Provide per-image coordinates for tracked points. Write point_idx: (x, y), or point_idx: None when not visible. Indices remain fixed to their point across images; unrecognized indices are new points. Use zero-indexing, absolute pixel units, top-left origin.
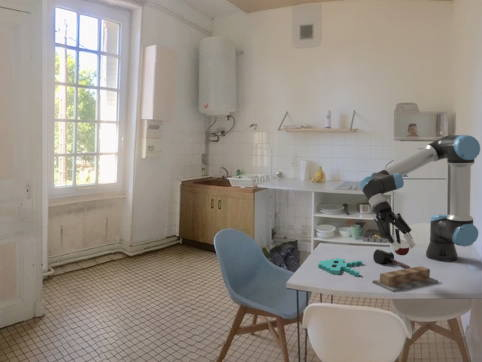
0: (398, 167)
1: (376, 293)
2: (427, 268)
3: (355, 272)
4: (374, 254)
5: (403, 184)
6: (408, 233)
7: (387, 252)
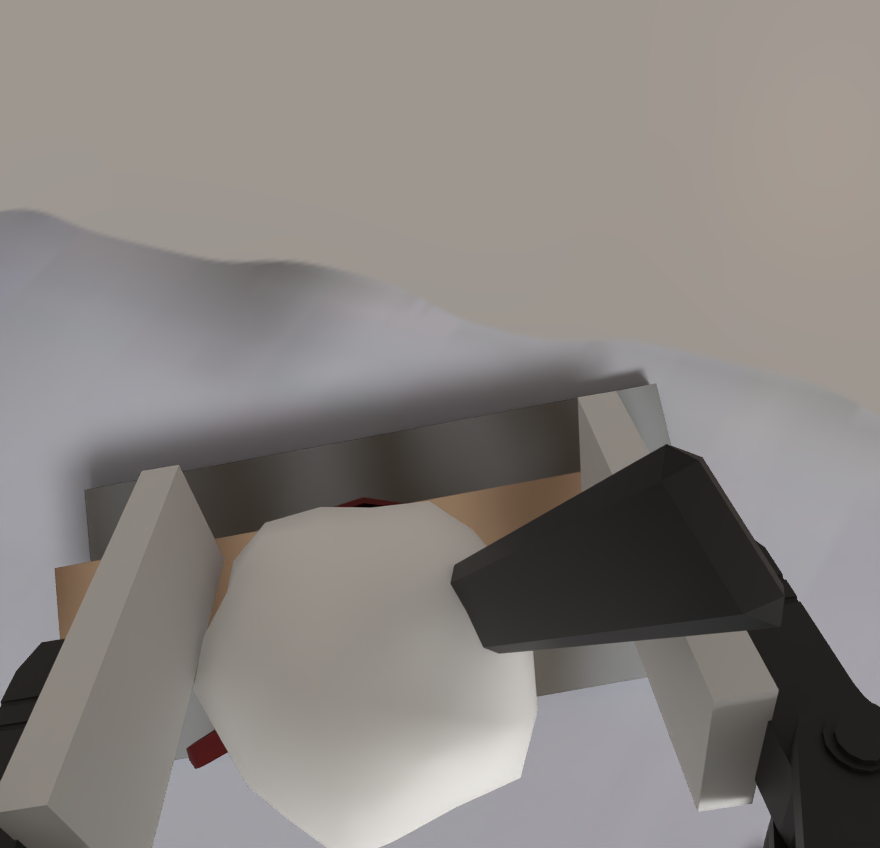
0: None
1: (818, 387)
2: (59, 601)
3: None
4: None
5: None
6: (15, 766)
7: None
